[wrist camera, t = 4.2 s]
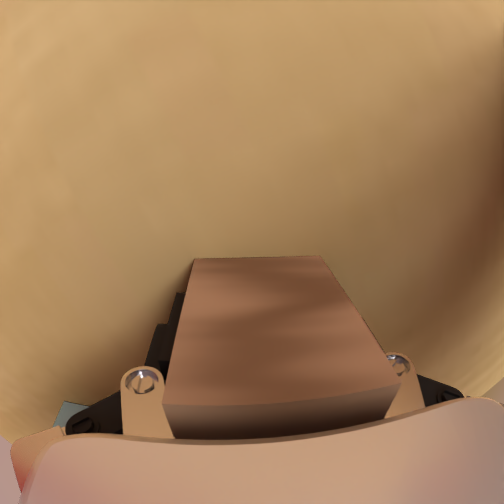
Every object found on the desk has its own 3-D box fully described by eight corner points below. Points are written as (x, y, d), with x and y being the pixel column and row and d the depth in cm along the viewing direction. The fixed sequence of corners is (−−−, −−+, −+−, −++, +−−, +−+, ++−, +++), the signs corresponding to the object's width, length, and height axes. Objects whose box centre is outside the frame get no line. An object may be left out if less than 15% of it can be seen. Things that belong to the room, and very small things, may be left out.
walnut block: (320, 255, 12) (401, 382, 5) (307, 349, 14) (348, 475, 7) (194, 258, 11) (161, 403, 5) (204, 354, 13) (196, 488, 7)
